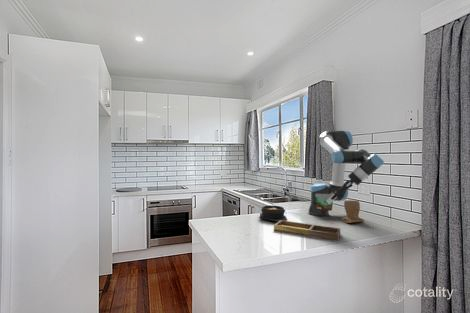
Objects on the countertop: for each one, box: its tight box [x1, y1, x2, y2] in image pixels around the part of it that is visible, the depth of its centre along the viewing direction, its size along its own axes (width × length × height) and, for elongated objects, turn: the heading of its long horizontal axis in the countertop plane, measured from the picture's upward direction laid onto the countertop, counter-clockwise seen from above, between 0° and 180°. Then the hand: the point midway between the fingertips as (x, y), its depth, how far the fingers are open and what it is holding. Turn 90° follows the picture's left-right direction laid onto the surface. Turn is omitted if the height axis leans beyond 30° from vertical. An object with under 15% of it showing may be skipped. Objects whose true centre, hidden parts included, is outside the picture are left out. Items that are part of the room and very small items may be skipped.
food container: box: [315, 193, 334, 212], centre depth 153 cm, size 12×6×10 cm, turn 110°
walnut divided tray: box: [273, 220, 341, 242], centre depth 148 cm, size 13×36×4 cm, turn 62°
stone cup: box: [341, 199, 365, 224], centre depth 174 cm, size 15×12×15 cm
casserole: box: [259, 204, 288, 222], centre depth 178 cm, size 25×19×8 cm
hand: (328, 201), depth 154 cm, fingers closed on food container, 9 cm apart
